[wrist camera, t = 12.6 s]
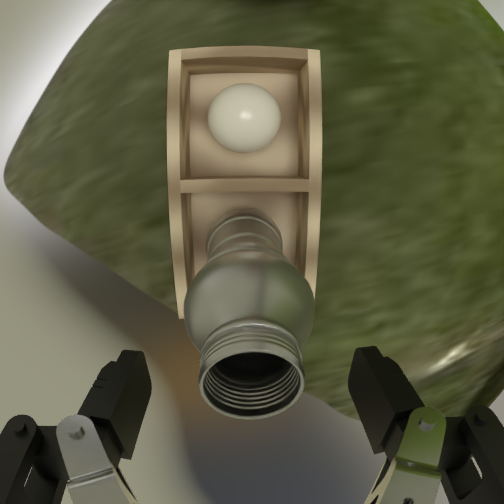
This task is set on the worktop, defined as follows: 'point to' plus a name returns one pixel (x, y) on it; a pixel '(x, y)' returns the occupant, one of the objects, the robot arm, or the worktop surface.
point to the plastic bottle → (249, 318)
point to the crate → (243, 154)
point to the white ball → (244, 118)
